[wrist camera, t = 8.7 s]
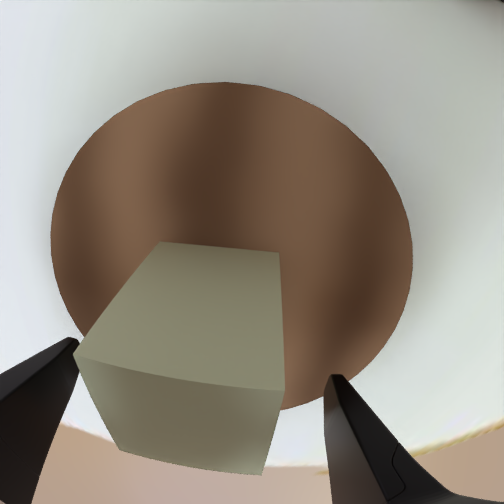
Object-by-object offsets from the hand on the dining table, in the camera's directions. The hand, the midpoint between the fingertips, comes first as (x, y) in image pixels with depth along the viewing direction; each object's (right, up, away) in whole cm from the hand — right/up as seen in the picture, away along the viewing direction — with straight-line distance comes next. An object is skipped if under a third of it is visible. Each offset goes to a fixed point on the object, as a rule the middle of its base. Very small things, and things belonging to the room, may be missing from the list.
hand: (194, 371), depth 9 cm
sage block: (0, +2, +4) cm, 5 cm away
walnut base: (0, +3, +7) cm, 7 cm away
